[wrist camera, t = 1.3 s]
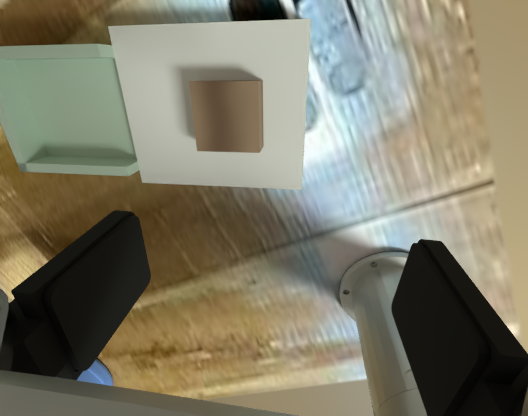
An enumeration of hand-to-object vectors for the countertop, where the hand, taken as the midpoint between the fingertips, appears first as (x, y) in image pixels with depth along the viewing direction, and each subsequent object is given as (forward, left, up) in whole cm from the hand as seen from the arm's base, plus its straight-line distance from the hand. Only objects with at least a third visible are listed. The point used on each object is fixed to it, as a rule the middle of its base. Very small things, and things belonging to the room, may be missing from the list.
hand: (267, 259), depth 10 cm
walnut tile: (+6, -2, -20) cm, 20 cm away
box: (+23, -2, -23) cm, 33 cm away
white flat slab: (+8, -2, -23) cm, 24 cm away
